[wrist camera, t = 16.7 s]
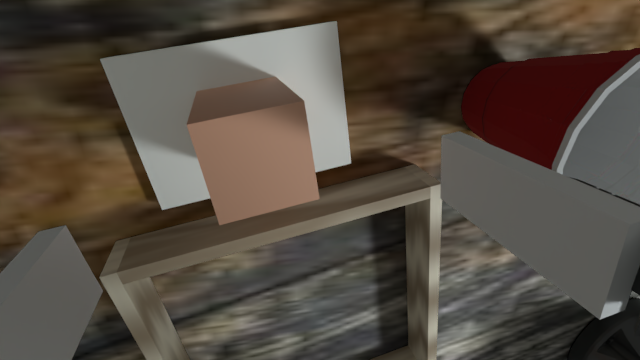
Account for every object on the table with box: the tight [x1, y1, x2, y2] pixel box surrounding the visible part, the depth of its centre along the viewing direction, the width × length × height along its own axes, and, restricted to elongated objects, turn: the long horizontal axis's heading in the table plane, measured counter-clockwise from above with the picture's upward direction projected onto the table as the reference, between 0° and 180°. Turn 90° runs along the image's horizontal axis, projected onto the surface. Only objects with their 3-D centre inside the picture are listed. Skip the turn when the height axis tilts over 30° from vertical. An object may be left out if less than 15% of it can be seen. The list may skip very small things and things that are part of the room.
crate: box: [99, 164, 442, 360], centre depth 30 cm, size 24×24×4 cm
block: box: [187, 77, 320, 225], centre depth 19 cm, size 5×5×8 cm
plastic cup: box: [461, 48, 640, 204], centre depth 23 cm, size 11×11×12 cm
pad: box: [100, 21, 351, 210], centre depth 23 cm, size 10×14×1 cm
